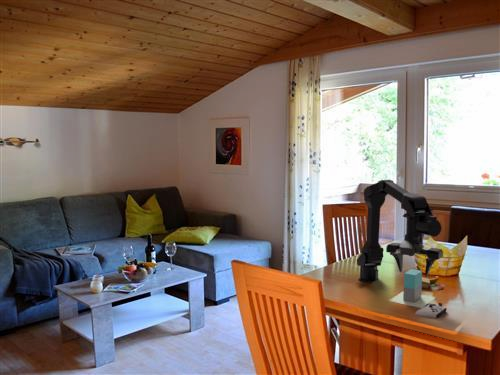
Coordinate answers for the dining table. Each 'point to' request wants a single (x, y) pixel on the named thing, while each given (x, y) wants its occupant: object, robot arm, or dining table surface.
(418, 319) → the dining table surface
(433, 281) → the toy sandwich meal
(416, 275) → the teal brick
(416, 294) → the grey rectangular block
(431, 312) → the gaming controller
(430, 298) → the base plate
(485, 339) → the dining table surface
